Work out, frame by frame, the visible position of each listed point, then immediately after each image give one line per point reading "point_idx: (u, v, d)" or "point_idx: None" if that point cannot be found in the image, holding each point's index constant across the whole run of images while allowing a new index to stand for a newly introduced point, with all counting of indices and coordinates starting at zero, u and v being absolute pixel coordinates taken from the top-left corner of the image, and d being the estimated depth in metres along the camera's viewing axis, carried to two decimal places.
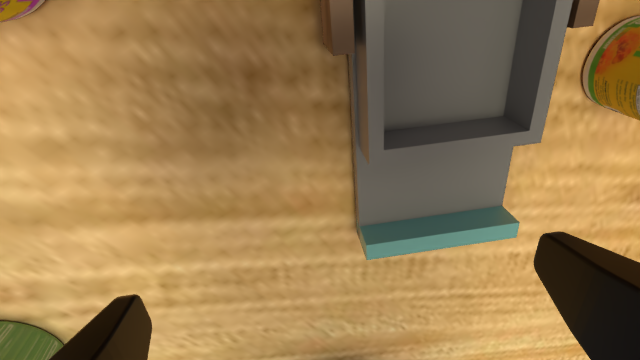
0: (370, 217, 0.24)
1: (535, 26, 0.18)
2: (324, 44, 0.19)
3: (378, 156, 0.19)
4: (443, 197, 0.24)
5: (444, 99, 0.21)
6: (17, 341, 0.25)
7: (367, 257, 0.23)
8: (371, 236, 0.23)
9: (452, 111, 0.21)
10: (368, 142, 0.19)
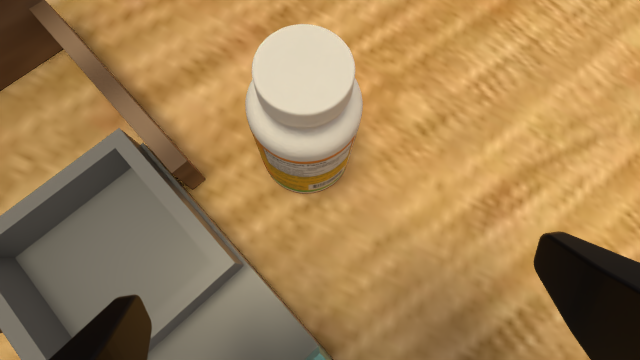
0: None
1: None
2: None
3: None
4: None
5: (150, 293, 0.19)
6: None
7: None
8: None
9: (168, 297, 0.19)
10: None
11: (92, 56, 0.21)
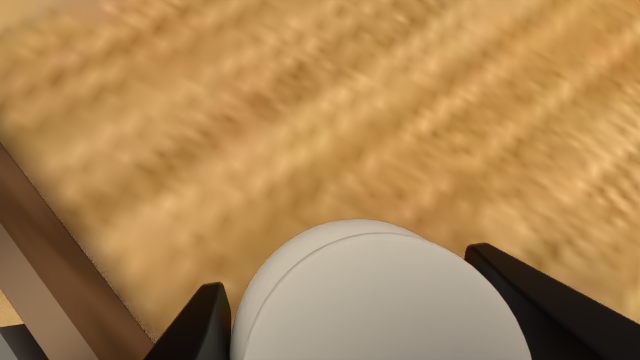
0: None
1: None
2: None
3: None
4: None
5: None
6: None
7: None
8: None
9: None
10: None
11: None
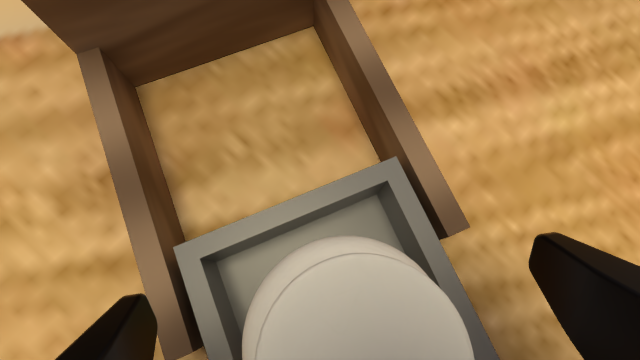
0: None
1: (412, 248, 0.15)
2: None
3: None
4: None
5: None
6: None
7: None
8: None
9: None
10: None
11: (376, 55, 0.17)
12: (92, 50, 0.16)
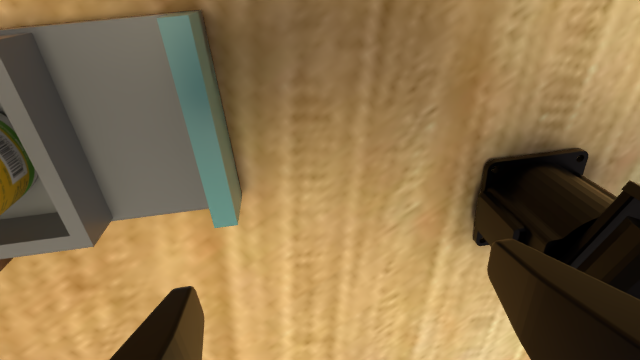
0: (205, 196, 0.20)
1: None
2: None
3: (79, 240, 0.18)
4: (165, 112, 0.18)
5: None
6: None
7: (233, 224, 0.19)
8: None
9: None
10: None
11: None
12: None
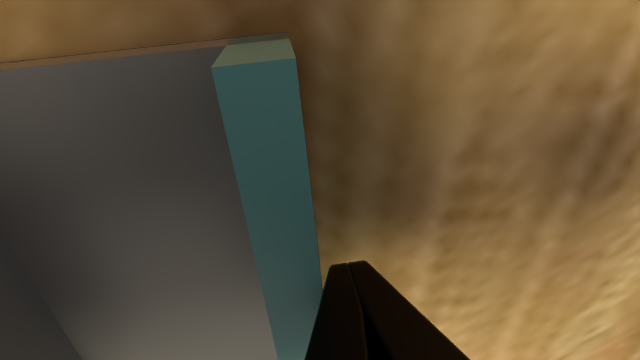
0: (269, 357, 0.11)
1: None
2: None
3: None
4: (206, 235, 0.09)
5: None
6: None
7: None
8: None
9: None
10: None
11: None
12: None
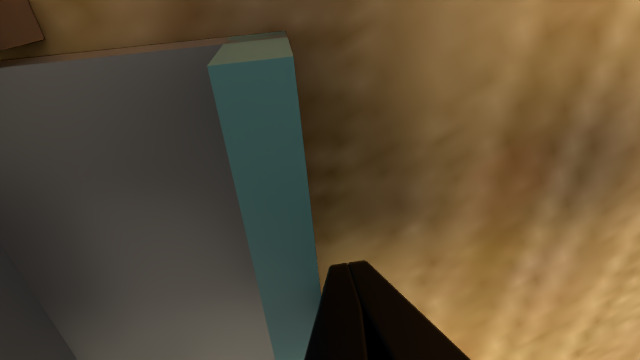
0: (267, 359, 0.11)
1: None
2: None
3: None
4: (203, 235, 0.09)
5: None
6: None
7: None
8: None
9: None
10: None
11: None
12: None
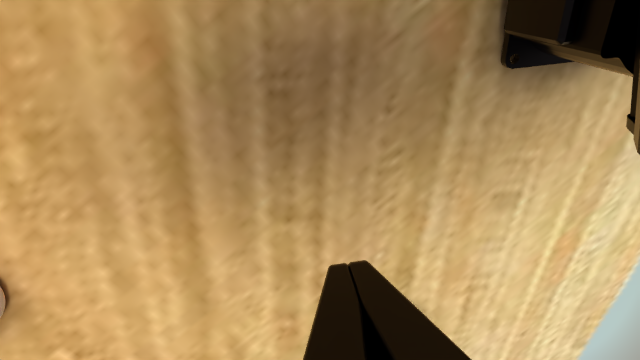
0: None
1: None
2: None
3: None
4: None
5: None
6: None
7: None
8: None
9: None
10: None
11: None
12: None
